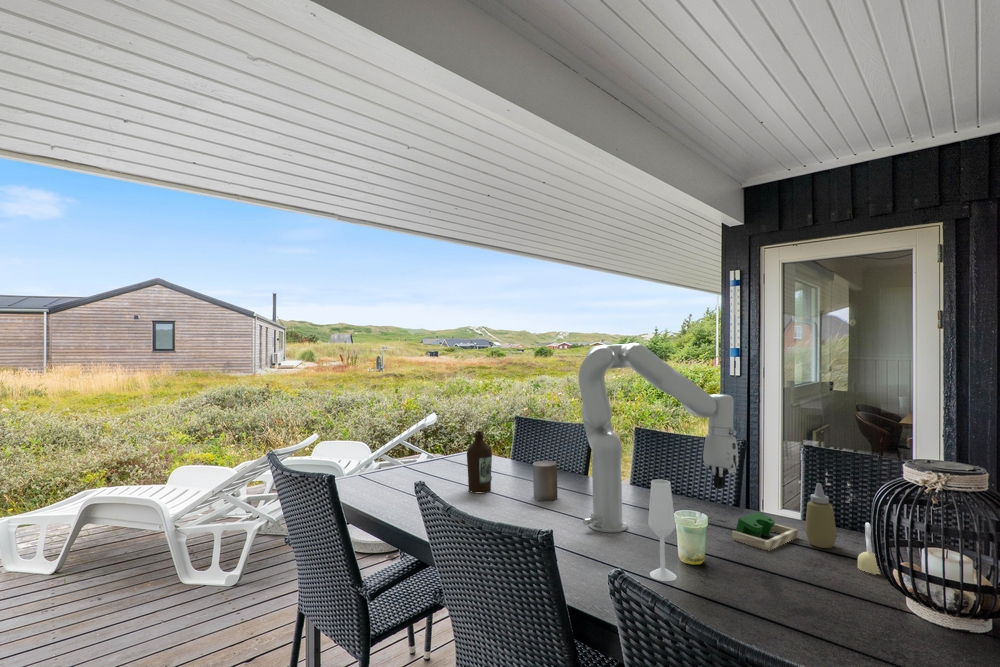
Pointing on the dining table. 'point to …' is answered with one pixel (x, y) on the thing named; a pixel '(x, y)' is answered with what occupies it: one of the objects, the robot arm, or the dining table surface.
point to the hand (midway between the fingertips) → (719, 487)
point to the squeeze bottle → (820, 520)
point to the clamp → (755, 525)
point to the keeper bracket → (784, 537)
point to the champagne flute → (661, 522)
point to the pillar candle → (545, 480)
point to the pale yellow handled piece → (868, 555)
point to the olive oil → (479, 464)
